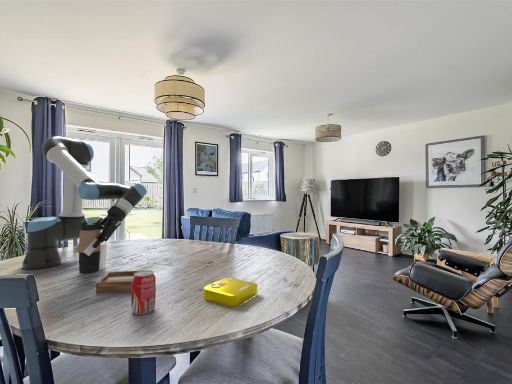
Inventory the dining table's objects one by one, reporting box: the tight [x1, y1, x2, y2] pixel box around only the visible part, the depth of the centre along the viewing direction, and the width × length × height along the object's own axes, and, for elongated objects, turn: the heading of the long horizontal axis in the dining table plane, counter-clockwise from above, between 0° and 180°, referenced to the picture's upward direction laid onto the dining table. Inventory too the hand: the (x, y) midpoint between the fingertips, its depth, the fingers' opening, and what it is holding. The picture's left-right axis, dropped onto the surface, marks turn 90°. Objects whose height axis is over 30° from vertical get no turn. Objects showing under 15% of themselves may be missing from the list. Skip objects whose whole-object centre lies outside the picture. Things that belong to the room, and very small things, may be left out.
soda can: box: [130, 269, 157, 315], centre depth 85 cm, size 7×7×12 cm
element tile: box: [203, 276, 258, 308], centre depth 98 cm, size 15×15×5 cm
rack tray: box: [95, 269, 144, 295], centre depth 106 cm, size 14×14×4 cm
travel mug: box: [78, 221, 102, 275], centre depth 112 cm, size 8×8×20 cm
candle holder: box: [99, 241, 108, 271], centre depth 129 cm, size 10×10×12 cm
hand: (80, 252), depth 110 cm, fingers closed on travel mug, 7 cm apart
